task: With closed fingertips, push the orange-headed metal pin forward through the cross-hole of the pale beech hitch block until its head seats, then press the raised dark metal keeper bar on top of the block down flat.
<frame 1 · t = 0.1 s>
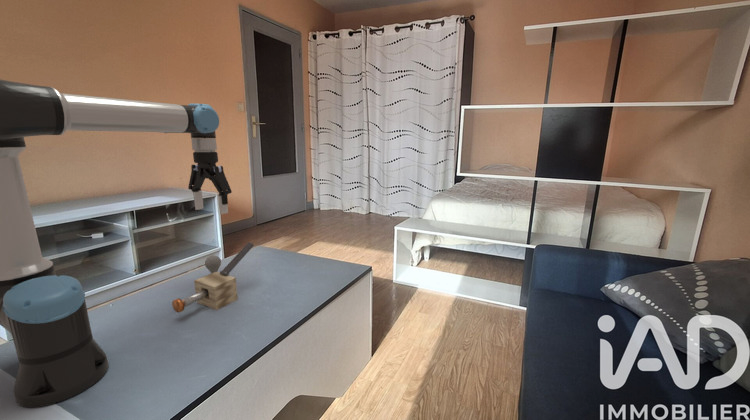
hand: (211, 211, 114), 28 cm above the table, fingers open, 13 cm apart
keeper: (237, 258, 113), point 12 cm above the table, hinge at 30.0°
pin: (197, 296, 101), point 5 cm above the table, slide at -8.0 cm
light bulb: (215, 280, 123), on the table
hitch block: (217, 300, 108), on the table
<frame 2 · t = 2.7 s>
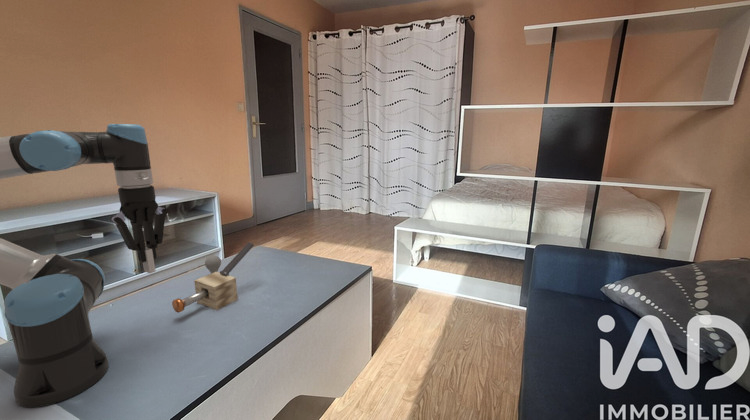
hand: (149, 271, 87), 18 cm above the table, fingers closed
nothing on the table moved.
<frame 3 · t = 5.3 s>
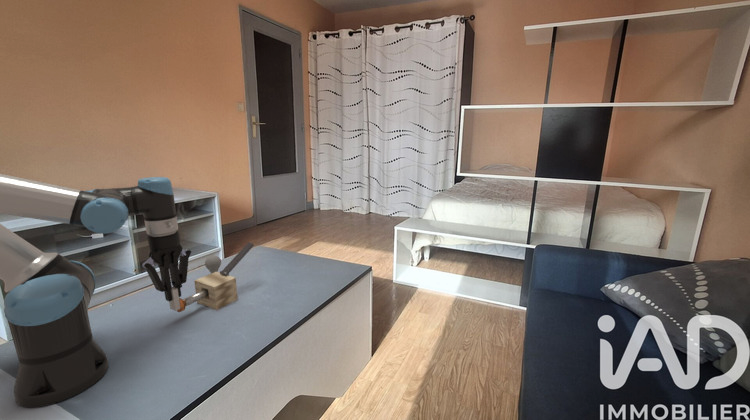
hand: (175, 308, 95), 4 cm above the table, fingers closed
pin: (198, 296, 101), point 5 cm above the table, slide at -7.7 cm, touching gripper
everything else where it was.
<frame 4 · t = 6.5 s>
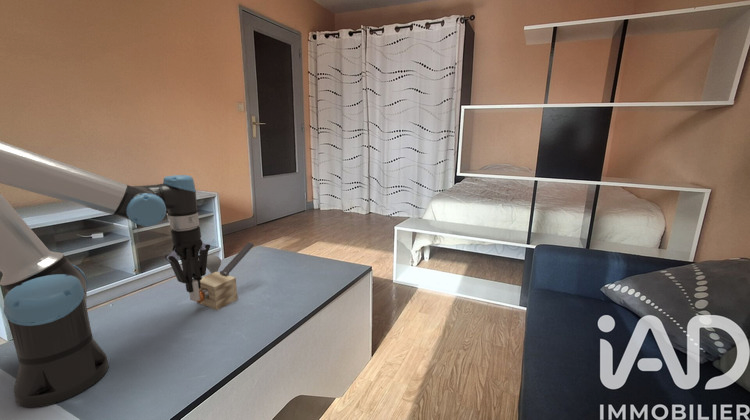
hand: (195, 299, 100), 4 cm above the table, fingers closed
pin: (215, 288, 106), point 5 cm above the table, slide at -1.5 cm, touching gripper
everything else where it was.
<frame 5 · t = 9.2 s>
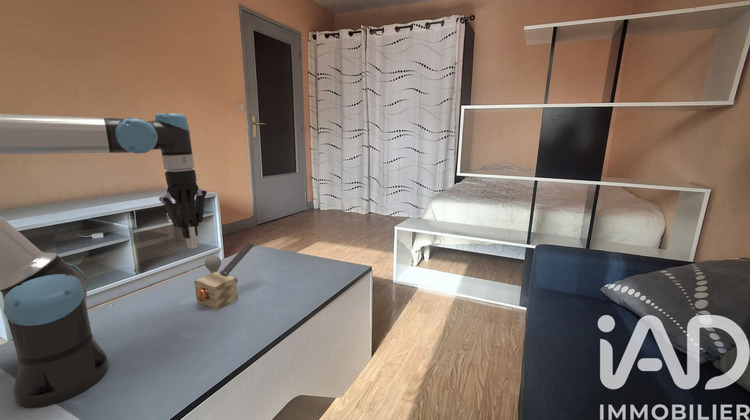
hand: (192, 247, 97), 21 cm above the table, fingers closed
pin: (218, 287, 107), point 5 cm above the table, slide at -0.5 cm
everything else where it was.
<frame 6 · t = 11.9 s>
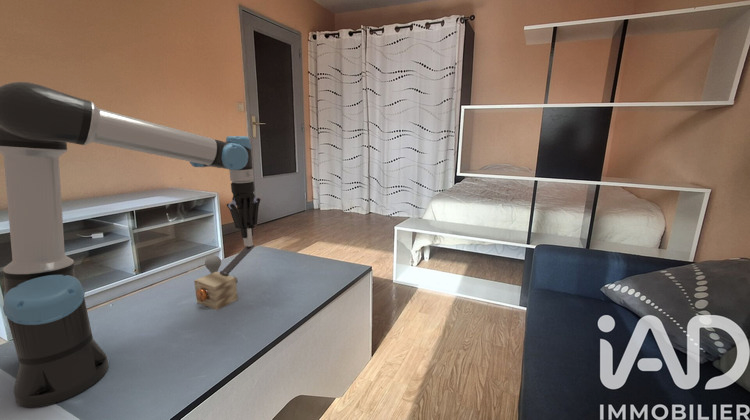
hand: (248, 245, 117), 15 cm above the table, fingers closed
keeper: (238, 259, 113), point 12 cm above the table, hinge at 27.7°, touching gripper
everything else where it was.
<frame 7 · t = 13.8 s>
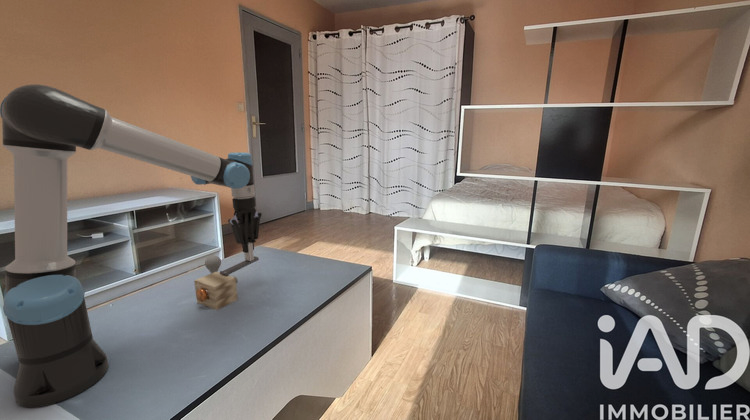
hand: (249, 259, 118), 10 cm above the table, fingers closed
keeper: (240, 265, 114), point 9 cm above the table, hinge at 3.3°, touching gripper
everything else where it was.
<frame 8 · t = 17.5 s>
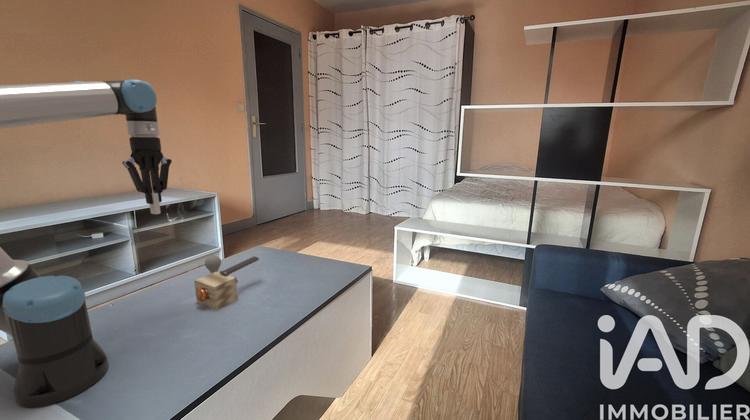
hand: (155, 213, 100), 30 cm above the table, fingers closed
keeper: (240, 265, 114), point 9 cm above the table, hinge at 3.2°
everything else where it was.
at the end: pin slide at -0.5 cm; keeper at +3° (first picture: +30°) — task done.
